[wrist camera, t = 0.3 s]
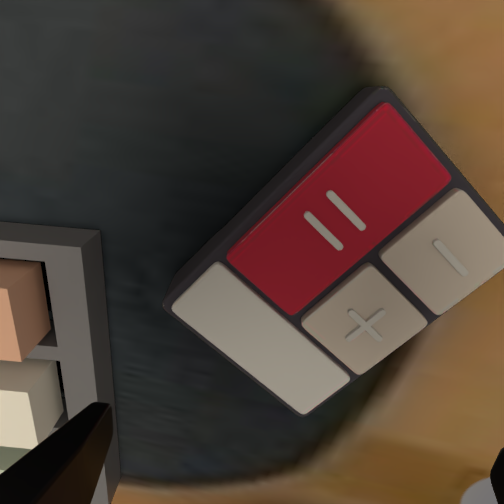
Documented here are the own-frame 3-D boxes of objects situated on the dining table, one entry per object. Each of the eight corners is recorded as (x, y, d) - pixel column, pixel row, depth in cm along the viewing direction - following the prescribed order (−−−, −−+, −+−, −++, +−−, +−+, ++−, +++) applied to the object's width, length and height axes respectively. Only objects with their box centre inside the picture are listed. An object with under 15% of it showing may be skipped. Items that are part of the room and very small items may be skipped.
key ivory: (63, 410, 26) (39, 449, 24) (-3, 404, 26) (-35, 442, 24) (55, 357, 25) (27, 392, 22) (-16, 350, 25) (-52, 385, 22)
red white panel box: (538, 257, 19) (303, 431, 23) (488, 228, 23) (296, 380, 27) (390, 79, 16) (153, 313, 20) (363, 82, 20) (170, 276, 24)
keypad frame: (121, 476, 31) (108, 508, 29) (-6, 463, 31) (-28, 494, 29) (100, 230, 23) (80, 247, 20) (-73, 215, 23) (-111, 230, 21)
